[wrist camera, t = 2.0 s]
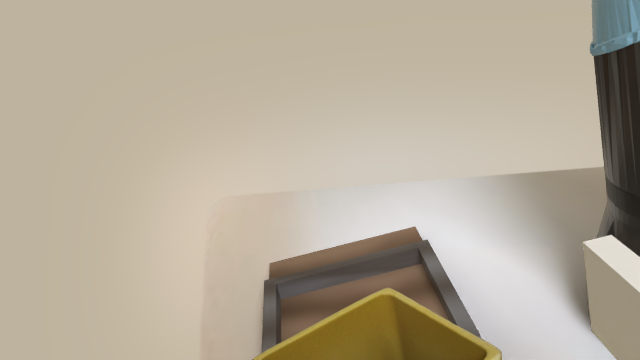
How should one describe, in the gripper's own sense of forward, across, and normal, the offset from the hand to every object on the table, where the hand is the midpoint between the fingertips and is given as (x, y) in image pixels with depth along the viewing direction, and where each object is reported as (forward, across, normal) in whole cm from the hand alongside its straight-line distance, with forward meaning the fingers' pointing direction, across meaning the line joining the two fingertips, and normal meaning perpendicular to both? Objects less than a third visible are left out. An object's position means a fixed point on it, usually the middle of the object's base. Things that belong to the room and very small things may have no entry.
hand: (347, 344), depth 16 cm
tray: (+28, 0, -16) cm, 33 cm away
